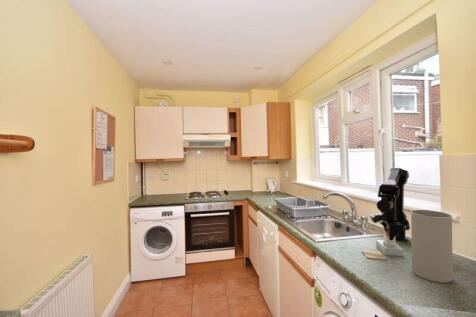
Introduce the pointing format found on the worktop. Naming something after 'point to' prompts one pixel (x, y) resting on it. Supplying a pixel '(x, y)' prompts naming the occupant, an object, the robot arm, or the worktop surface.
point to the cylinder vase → (432, 245)
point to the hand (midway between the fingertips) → (389, 238)
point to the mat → (373, 255)
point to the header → (389, 249)
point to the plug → (387, 240)
